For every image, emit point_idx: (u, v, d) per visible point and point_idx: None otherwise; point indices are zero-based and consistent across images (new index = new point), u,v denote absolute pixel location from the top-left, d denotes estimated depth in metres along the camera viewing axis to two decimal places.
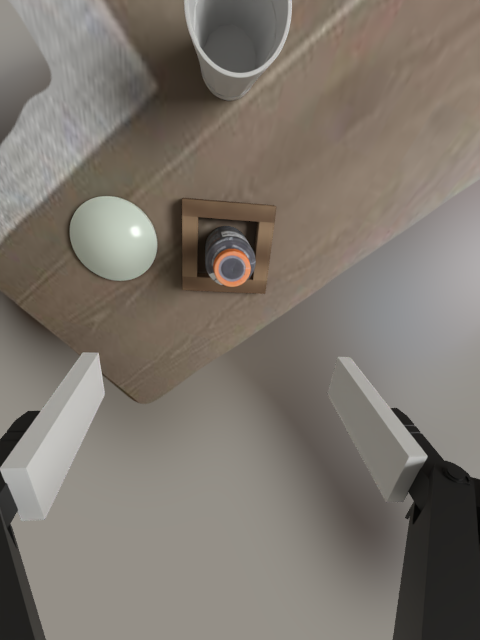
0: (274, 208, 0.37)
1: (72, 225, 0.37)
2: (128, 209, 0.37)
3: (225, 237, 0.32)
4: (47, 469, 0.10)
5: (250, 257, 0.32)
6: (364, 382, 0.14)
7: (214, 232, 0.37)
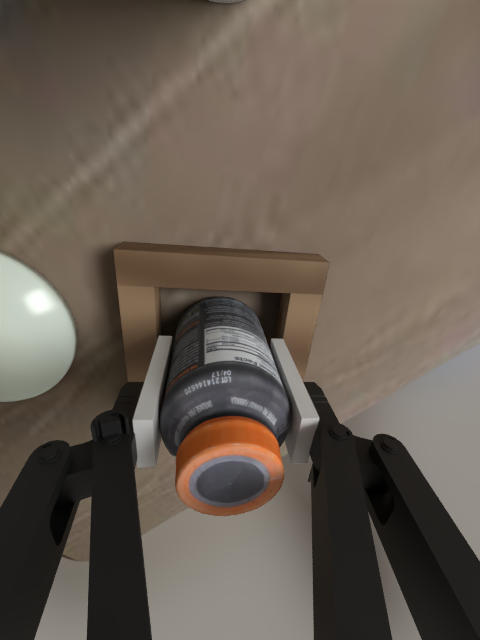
0: (325, 266, 0.17)
1: None
2: None
3: (211, 371, 0.12)
4: (157, 426, 0.12)
5: (279, 419, 0.12)
6: (287, 359, 0.16)
7: (191, 319, 0.17)
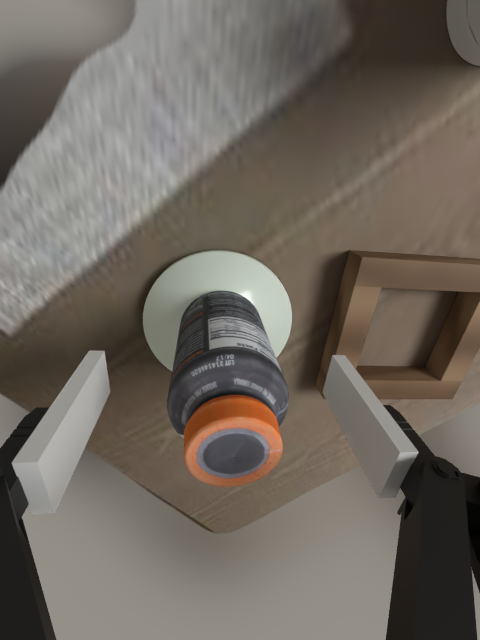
0: None
1: (149, 302, 0.20)
2: (252, 273, 0.20)
3: (216, 355, 0.13)
4: (57, 464, 0.10)
5: (278, 400, 0.13)
6: (358, 380, 0.14)
7: (195, 310, 0.18)
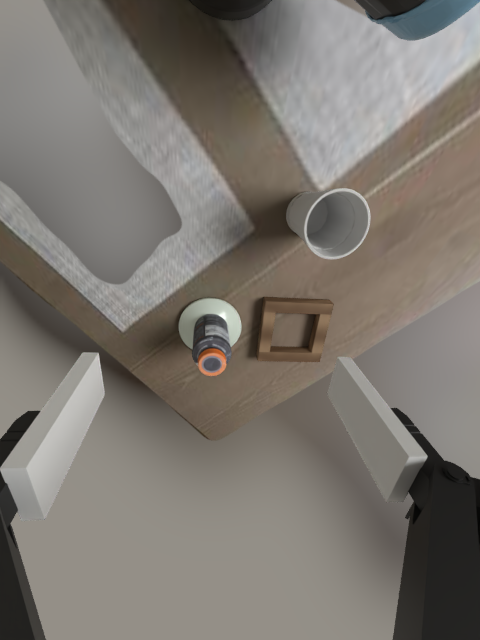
0: (332, 305, 0.50)
1: (181, 318, 0.49)
2: (223, 307, 0.49)
3: (207, 337, 0.42)
4: (47, 469, 0.10)
5: (226, 351, 0.42)
6: (364, 382, 0.14)
7: (200, 322, 0.47)
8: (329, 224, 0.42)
